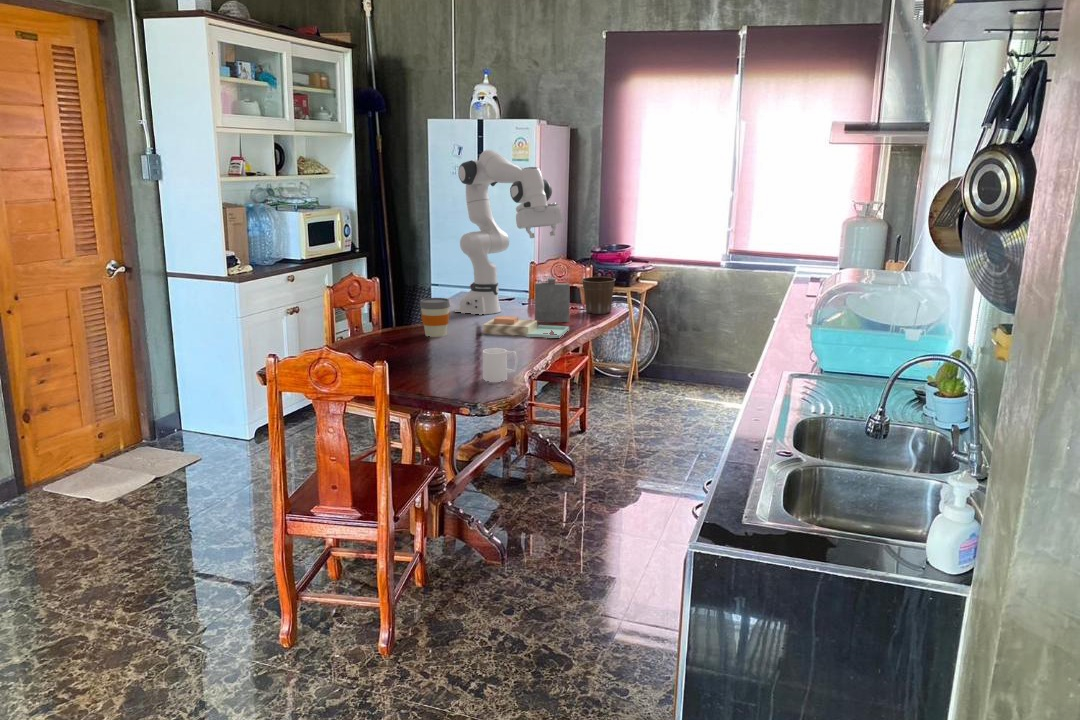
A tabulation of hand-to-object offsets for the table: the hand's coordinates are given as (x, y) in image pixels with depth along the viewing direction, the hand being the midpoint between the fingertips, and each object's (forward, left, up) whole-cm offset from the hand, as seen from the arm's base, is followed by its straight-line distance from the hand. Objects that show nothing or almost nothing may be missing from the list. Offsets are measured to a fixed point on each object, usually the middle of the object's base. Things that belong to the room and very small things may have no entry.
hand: (542, 236), depth 343 cm
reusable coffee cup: (-43, -17, -41) cm, 62 cm away
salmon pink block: (-16, -3, -37) cm, 40 cm away
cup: (+6, -76, -41) cm, 86 cm away
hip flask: (-2, +22, -41) cm, 47 cm away
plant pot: (+14, +49, -41) cm, 66 cm away
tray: (+3, -3, -41) cm, 41 cm away
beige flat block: (-14, -3, -41) cm, 43 cm away
